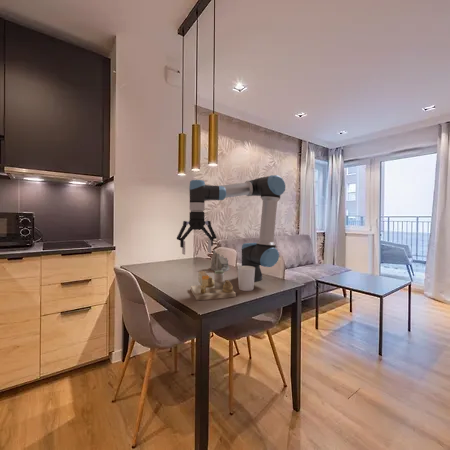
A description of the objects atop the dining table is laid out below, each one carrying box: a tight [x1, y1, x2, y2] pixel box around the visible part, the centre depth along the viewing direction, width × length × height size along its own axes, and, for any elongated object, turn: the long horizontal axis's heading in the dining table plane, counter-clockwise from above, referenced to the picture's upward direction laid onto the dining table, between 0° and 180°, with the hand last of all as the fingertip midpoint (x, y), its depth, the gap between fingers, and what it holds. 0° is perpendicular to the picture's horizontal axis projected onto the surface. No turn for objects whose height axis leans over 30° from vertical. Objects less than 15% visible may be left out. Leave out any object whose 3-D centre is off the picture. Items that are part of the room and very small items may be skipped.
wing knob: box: [198, 270, 210, 293], centre depth 126 cm, size 3×10×10 cm, turn 17°
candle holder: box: [237, 265, 255, 292], centre depth 141 cm, size 10×10×12 cm
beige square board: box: [190, 270, 237, 301], centre depth 134 cm, size 20×18×11 cm
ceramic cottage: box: [210, 249, 230, 273], centre depth 190 cm, size 16×16×15 cm
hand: (196, 253), depth 128 cm, fingers open, 13 cm apart
